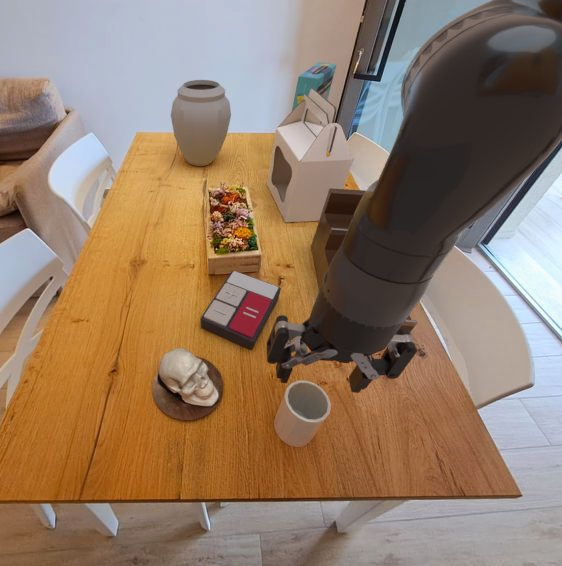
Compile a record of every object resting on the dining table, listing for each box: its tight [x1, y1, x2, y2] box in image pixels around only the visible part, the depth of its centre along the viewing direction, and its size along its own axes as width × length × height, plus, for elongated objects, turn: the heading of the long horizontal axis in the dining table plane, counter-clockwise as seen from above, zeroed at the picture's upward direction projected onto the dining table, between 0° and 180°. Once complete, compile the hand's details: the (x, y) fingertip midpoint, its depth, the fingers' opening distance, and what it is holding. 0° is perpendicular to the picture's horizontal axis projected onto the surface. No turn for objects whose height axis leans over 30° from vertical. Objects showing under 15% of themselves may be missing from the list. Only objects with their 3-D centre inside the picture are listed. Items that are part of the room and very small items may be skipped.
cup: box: [273, 379, 332, 448], centre depth 48 cm, size 6×6×9 cm
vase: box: [170, 79, 232, 167], centre depth 110 cm, size 20×20×24 cm
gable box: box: [266, 89, 355, 223], centre depth 89 cm, size 22×13×28 cm, turn 4°
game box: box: [291, 61, 337, 125], centre depth 111 cm, size 20×6×27 cm, turn 148°
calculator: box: [200, 270, 282, 351], centre depth 67 cm, size 11×4×15 cm
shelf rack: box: [310, 188, 418, 333], centre depth 68 cm, size 26×15×16 cm, turn 171°
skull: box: [151, 347, 224, 421], centre depth 55 cm, size 12×10×10 cm
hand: (317, 381), depth 42 cm, fingers open, 8 cm apart
